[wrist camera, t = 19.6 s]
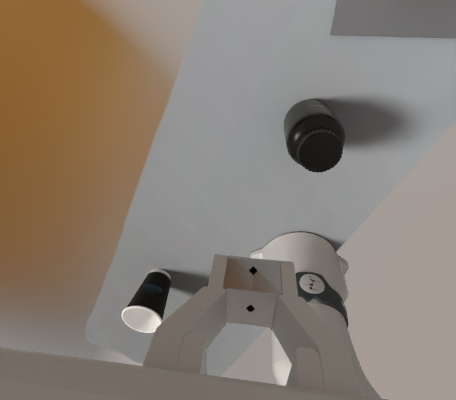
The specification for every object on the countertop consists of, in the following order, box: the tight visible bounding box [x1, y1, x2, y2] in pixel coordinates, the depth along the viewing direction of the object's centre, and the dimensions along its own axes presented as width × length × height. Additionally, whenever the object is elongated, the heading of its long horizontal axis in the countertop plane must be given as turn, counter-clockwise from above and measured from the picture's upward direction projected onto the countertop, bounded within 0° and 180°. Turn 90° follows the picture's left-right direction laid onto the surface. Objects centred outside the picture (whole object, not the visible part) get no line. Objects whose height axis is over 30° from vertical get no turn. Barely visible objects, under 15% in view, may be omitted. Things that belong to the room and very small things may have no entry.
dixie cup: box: [122, 269, 171, 333], centre depth 56 cm, size 8×8×11 cm
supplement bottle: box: [284, 99, 345, 172], centre depth 34 cm, size 7×7×12 cm
